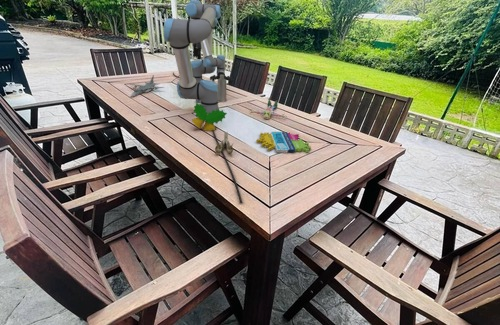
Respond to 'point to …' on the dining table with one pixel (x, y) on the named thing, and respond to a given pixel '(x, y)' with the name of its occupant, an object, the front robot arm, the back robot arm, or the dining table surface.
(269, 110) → the toy
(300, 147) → the sign
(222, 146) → the jawbone
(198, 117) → the ornament
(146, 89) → the airplane
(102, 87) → the dining table surface
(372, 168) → the dining table surface
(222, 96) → the bottle
